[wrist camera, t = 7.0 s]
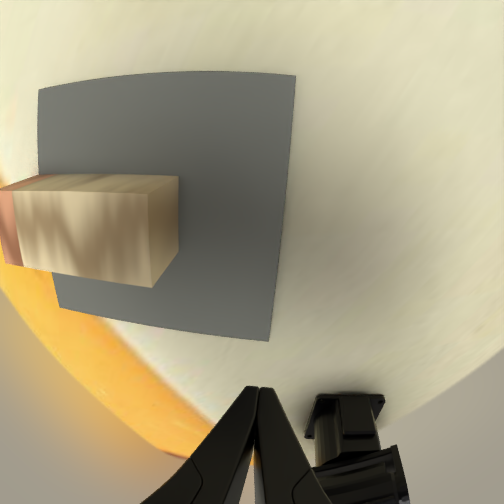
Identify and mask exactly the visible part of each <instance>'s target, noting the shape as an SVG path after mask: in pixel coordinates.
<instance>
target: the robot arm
mask: <svg viewBox="0 0 504 504" xmlns="http://www.w3.org/2000/svg"><path fill="white" fill-rule="evenodd" d="M259 390H260V391H259ZM384 403H385V397H384V396H382V395H372V396H355V395H319V396H317V397H316V399H315V402H314V405H313V409H312V412H311V415H310V418H309V421H308V424H307V427H306V430H305V433H304V434H305V438H306V439H315V461H316V467H312V468H311V466H310V464H309V462H308V460H307V458H306V456H305V454H304V452H303V449H302V447H301V445H300V443H299V441H298V439H297V437H296V435H295V433H294V431H293V429H292V427H291V424H290V422H289V420H288V418H287V416H286V414H285V412H284V410H283V407H282V405H281V403H280V401H279V399H278V397H277V394H276V392H275V390H274V389H273V388H268V387H261V388H260V389H259V387H256V386H246V387H245V388H244V389H243V391H242V392H241V393H240V394H239V396H238V397H237V398H236V400H235V401H234V402H233V404H232V405H231V406H230V407H229V409H228V410H227V411H226V413H225V414H224V415H223V416H222V418H221V419H220V420H219V421H218V423H217V424H216V425H215V426H214V428H213V429H212V430H211V431H210V433H209V434H208V435H207V436H206V438H205V439H204V440H203V441H202V442H201V444H200V445H199V446H198V447H197V449H196V450H195V451H194V452H193V453H192V455H191V456H190V458H188V459H187V460H186V461H185V463H184V464H183V465H182V466H181V467H180V468H179V469H178V470H177V472H176V473H175V474H174V475H173V476H172V477H171V478H170V479H169V480H168V481H166V482H165V483H164V484H163V485H162V486H161V487H160V488H159V489H157V490H156V491H155V492H154V493H153V494H151V495H150V496H149V497H148V498H146V499H145V500H144V501H143V502H141V503H140V504H239V501H240V497H241V494H242V490H243V487H244V483H245V479H246V476H247V472H248V469H249V465H250V461H251V457H252V453H253V447H254V484H255V504H410V500H409V494H408V488H407V484H406V479H405V475H404V471H403V467H402V463H401V459H400V455H399V451H398V448H397V445H393V446H391V447H390V448H387V449H383V450H381V446H380V441H379V436H378V432H377V427H376V423H375V421H376V419H377V417H378V415H379V413H380V411H381V409H382V407H383V405H384Z"/></svg>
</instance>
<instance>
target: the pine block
mask: <svg viewBox="0 0 504 504" xmlns="http://www.w3.org/2000/svg"><path fill="white" fill-rule="evenodd" d="M178 188H179V176H166V175H136V174H46V175H36V176H33V177H30V178H28V179H25V180H22V181H19V182H16V183H14V184H11V185H8V186H6V187H3V188H0V239H1V245H2V250H3V254H4V259H5V263H7V264H12V265H17V266H23V267H28V268H33V269H38V270H44V271H49V272H55V273H61V274H66V275H72V276H78V277H84V278H90V279H96V280H103V281H109V282H116V283H122V284H129V285H136V286H143V287H150V288H152V287H153V286H154V285H155V283H156V282H157V280H158V279H159V278H160V276H161V275H162V273H163V272H164V271H165V269H166V268H167V267H168V265H169V264H170V263H171V261H172V260H173V258H174V257H175V256H176V254H177V253H178V252H179V240H178Z"/></svg>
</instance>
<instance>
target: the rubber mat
mask: <svg viewBox="0 0 504 504" xmlns="http://www.w3.org/2000/svg"><path fill="white" fill-rule="evenodd" d="M295 82H296V76H293V75H282V74H270V73H255V72H230V71H187V72H163V73H147V74H135V75H125V76H116V77H108V78H100V79H93V80H86V81H80V82H74V83H69V84H63V85H58V86H53V87H48V88H44V89H39V92H38V122H37V136H38V167H39V175H46V174H136V175H166V176H179V188H178V240H179V252H178V253H177V254H176V256H175V257H174V258H173V260H172V261H171V263H170V264H169V265H168V267H167V268H166V269H165V271H164V272H163V273H162V275H161V276H160V278H159V279H158V280H157V282H156V283H155V285H154V286H153V287H152V288H150V287H143V286H136V285H129V284H122V283H116V282H109V281H103V280H96V279H90V278H84V277H78V276H72V275H66V274H61V273H55V272H52V276H53V280H54V285H55V290H56V294H57V298H58V302H59V307H60V308H65V309H69V310H73V311H78V312H82V313H87V314H91V315H96V316H101V317H106V318H111V319H116V320H121V321H127V322H132V323H137V324H143V325H149V326H155V327H161V328H167V329H173V330H179V331H186V332H193V333H200V334H207V335H215V336H223V337H231V338H239V339H248V340H257V341H267V342H269V335H270V327H271V319H272V311H273V302H274V294H275V286H276V277H277V269H278V260H279V251H280V242H281V233H282V223H283V214H284V204H285V194H286V184H287V174H288V164H289V153H290V142H291V131H292V119H293V107H294V95H295Z"/></svg>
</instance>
